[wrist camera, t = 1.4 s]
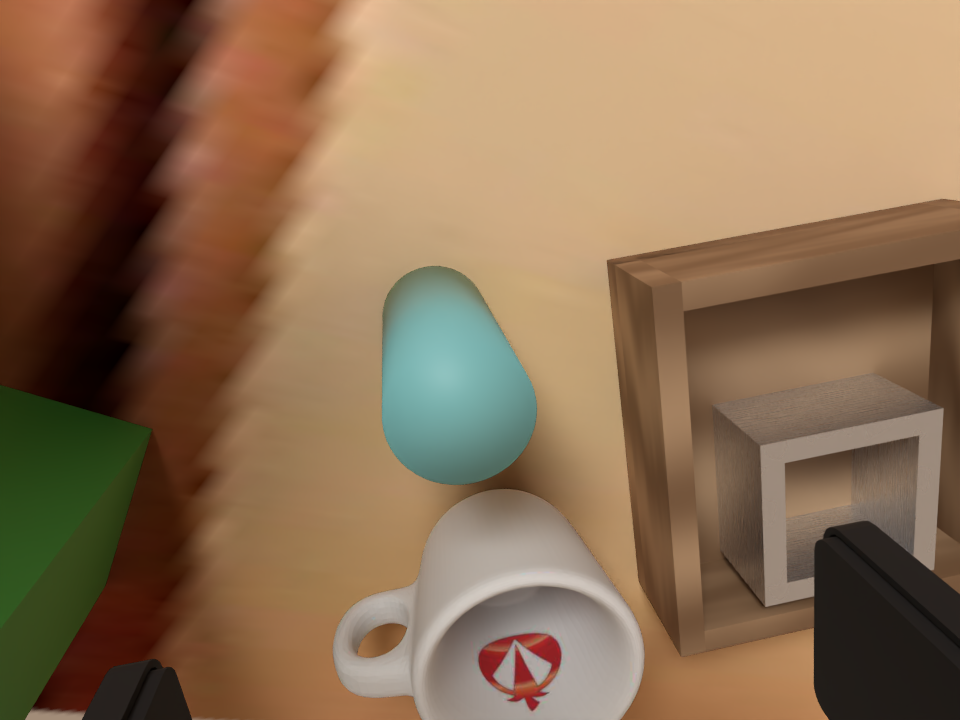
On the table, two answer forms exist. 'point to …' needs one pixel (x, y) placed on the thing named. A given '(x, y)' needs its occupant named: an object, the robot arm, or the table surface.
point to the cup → (500, 622)
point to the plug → (451, 381)
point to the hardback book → (55, 530)
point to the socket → (815, 432)
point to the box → (774, 386)
